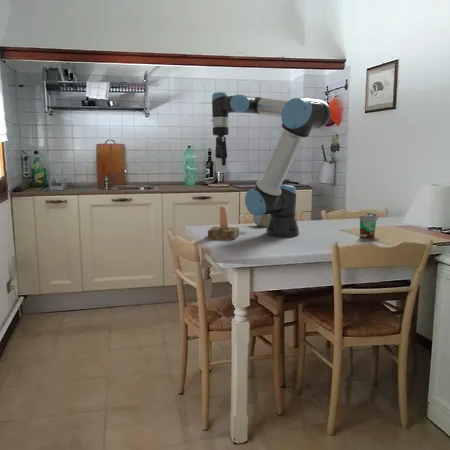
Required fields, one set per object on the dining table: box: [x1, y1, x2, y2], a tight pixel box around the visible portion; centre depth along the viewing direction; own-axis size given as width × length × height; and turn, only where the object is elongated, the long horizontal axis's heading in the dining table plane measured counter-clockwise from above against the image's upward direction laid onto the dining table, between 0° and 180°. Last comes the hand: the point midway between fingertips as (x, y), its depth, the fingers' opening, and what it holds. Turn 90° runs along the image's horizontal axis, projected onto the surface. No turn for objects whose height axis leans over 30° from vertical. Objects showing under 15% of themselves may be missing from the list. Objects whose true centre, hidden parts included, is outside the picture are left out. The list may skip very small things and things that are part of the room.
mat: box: [239, 230, 248, 236], centre depth 223 cm, size 10×8×1 cm
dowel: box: [219, 205, 229, 230], centre depth 212 cm, size 3×3×14 cm
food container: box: [359, 212, 378, 239], centre depth 212 cm, size 12×6×10 cm, turn 148°
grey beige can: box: [252, 214, 270, 228], centre depth 241 cm, size 11×8×8 cm
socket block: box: [207, 226, 240, 241], centre depth 213 cm, size 12×10×4 cm
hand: (221, 172), depth 226 cm, fingers open, 13 cm apart
